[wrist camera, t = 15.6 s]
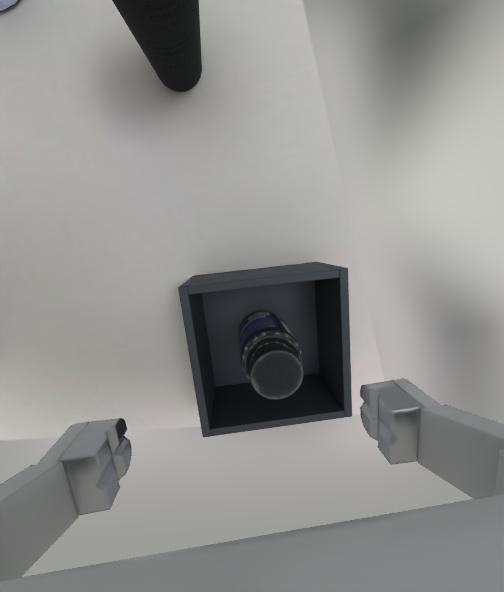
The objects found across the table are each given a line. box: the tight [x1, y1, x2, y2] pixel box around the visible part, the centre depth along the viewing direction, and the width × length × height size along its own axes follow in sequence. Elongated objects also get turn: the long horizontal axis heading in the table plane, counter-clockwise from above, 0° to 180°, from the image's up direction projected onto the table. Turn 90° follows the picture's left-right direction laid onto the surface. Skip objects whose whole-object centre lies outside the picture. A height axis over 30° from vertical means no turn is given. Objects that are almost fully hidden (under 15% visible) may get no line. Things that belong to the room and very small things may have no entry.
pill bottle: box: [239, 311, 304, 399], centre depth 27 cm, size 6×6×11 cm
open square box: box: [178, 262, 352, 437], centre depth 29 cm, size 16×16×9 cm
